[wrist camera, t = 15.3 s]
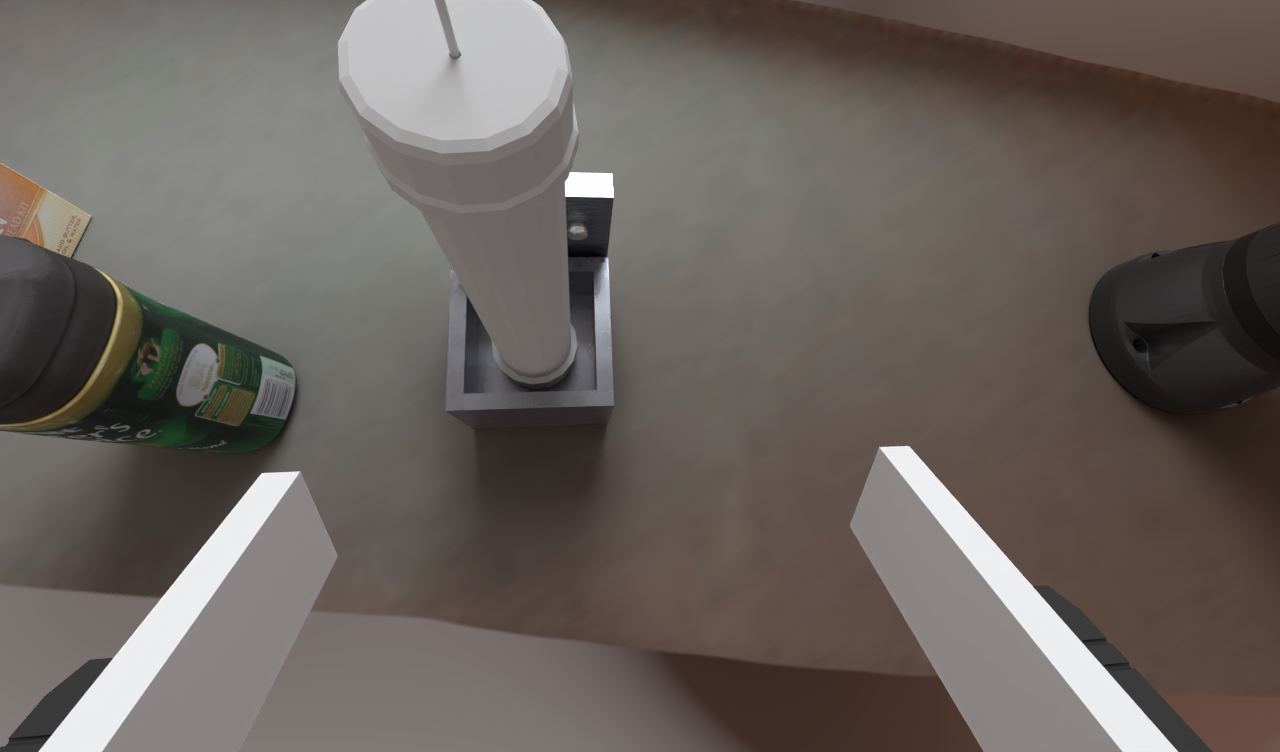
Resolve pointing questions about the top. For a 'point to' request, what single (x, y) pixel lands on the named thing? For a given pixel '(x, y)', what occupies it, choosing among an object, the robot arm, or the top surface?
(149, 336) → the coffee jar
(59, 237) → the coffeecake box
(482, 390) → the grey open box
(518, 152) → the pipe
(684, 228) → the top surface
